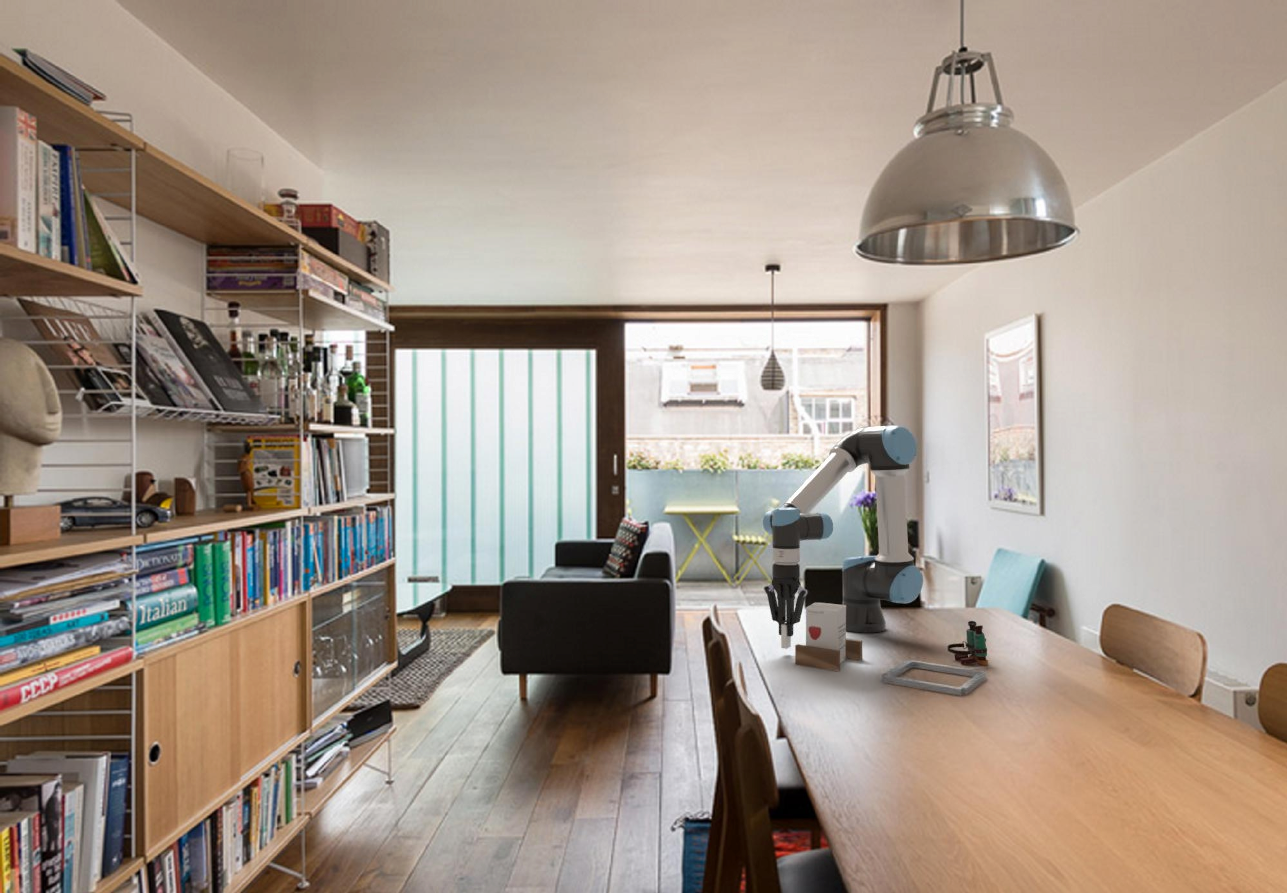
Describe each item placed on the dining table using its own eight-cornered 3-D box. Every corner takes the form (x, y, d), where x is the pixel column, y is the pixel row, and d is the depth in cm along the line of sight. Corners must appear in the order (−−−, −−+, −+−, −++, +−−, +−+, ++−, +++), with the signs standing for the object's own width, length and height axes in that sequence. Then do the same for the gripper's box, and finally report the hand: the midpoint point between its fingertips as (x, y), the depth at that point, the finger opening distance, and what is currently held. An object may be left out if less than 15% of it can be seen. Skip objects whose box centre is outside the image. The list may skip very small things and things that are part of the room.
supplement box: (804, 662, 223) (804, 607, 223) (814, 655, 231) (814, 601, 231) (838, 666, 218) (838, 610, 218) (846, 659, 226) (846, 604, 226)
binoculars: (941, 622, 228) (977, 619, 228) (945, 661, 228) (981, 657, 228) (952, 629, 219) (990, 625, 219) (957, 669, 219) (995, 665, 219)
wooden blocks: (821, 652, 234) (821, 634, 234) (862, 658, 227) (862, 640, 227) (795, 664, 221) (795, 645, 221) (837, 671, 214) (837, 651, 214)
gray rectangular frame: (908, 665, 220) (908, 659, 220) (988, 677, 208) (988, 671, 208) (879, 682, 204) (879, 675, 204) (964, 696, 192) (964, 690, 192)
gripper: (758, 562, 233) (758, 646, 233) (801, 566, 225) (801, 653, 225) (771, 559, 239) (771, 641, 239) (813, 563, 231) (813, 648, 231)
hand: (786, 647), depth 232 cm, fingers closed
